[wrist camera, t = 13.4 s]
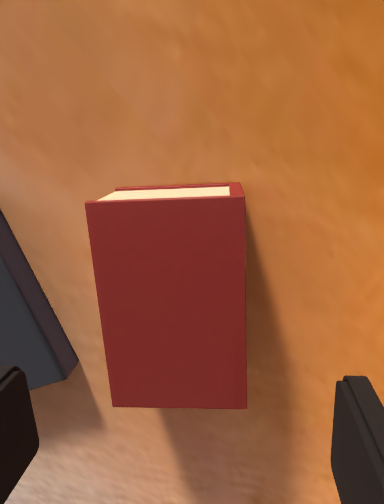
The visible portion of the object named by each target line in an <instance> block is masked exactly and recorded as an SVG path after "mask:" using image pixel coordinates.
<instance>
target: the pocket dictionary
mask: <svg viewBox="0 0 384 504" xmlns="http://www.w3.org/2000/svg"><path fill="white" fill-rule="evenodd" d="M115 191H116V192H114V193H111V194H109V195H107V196H105V197H103V198H101V199H99V200H97V201H87V202H85V209H86V217H87V224H88V231H89V238H90V246H91V253H92V260H93V267H94V275H95V282H96V289H97V297H98V304H99V311H100V318H101V326H102V333H103V340H104V348H105V355H106V362H107V369H108V377H109V384H110V391H111V398H112V406H113V407H146V408H206V409H247V359H246V262H245V196H244V193H243V190H242V187H241V185H240V183H216V184H193V185H169V186H146V187H123V188H116V189H115Z"/></svg>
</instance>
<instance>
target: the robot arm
mask: <svg viewBox="0 0 384 504" xmlns="http://www.w3.org/2000/svg"><path fill="white" fill-rule="evenodd" d="M38 448H39V437H38V432H37V427H36V422H35V418H34V413H33V408H32V403H31V399H30V394H29V389H28V384H27V379H26V375H25V373H24V371H21V369H20V368H19V367H18V366H3V365H1V366H0V504H4V503H5V501H6V500H7V498H8V497H9V495H10V493H11V492H12V490H13V489H14V487H15V486H16V484H17V483H18V481H19V480H20V478H21V476H22V475H23V473H24V472H25V470H26V469H27V467H28V466H29V464H30V462H31V461H32V459H33V458H34V456H35V455H36V453H37V451H38ZM331 467H332V472H333V476H334V479H335V483H336V486H337V490H338V493H339V497H340V501H341V504H384V407H383V405H382V403H381V402H380V400H379V398H378V396H377V394H376V392H375V391H374V389H373V387H372V385H371V383H370V381H369V379H368V378H367V377H366V376H344V378H343V381H337V382H336V392H335V405H334V419H333V433H332V447H331Z"/></svg>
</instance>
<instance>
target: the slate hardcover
mask: <svg viewBox="0 0 384 504" xmlns="http://www.w3.org/2000/svg"><path fill="white" fill-rule="evenodd" d="M78 361H79V360H78V358H77V356H76V354H75V352H74V350H73V348H72V346H71V344H70V342H69V340H68V339H67V337H66V335H65V333H64V331H63V329H62V327H61V325H60V323H59V321H58V319H57V317H56V315H55V314H54V312H53V310H52V308H51V306H50V304H49V302H48V300H47V298H46V296H45V294H44V292H43V291H42V289H41V287H40V285H39V283H38V281H37V279H36V277H35V275H34V273H33V271H32V269H31V268H30V266H29V264H28V262H27V260H26V258H25V256H24V254H23V252H22V250H21V248H20V246H19V244H18V243H17V241H16V239H15V237H14V235H13V233H12V231H11V229H10V227H9V225H8V223H7V221H6V220H5V218H4V216H3V214H2V212H1V210H0V366H1V365H3V366H18V367H19V368H20V369H21V371H24V373H25V375H26V379H27V384H28V389H29V390H31V389H35V388H38V387H42V386H45V385H48V384H52V383H55V382H59V381H62V380H65V379H67V378H68V376H69V374H70V373H71V371H72V370H73V368H74V367H75V365H76V364H77V362H78Z"/></svg>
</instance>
